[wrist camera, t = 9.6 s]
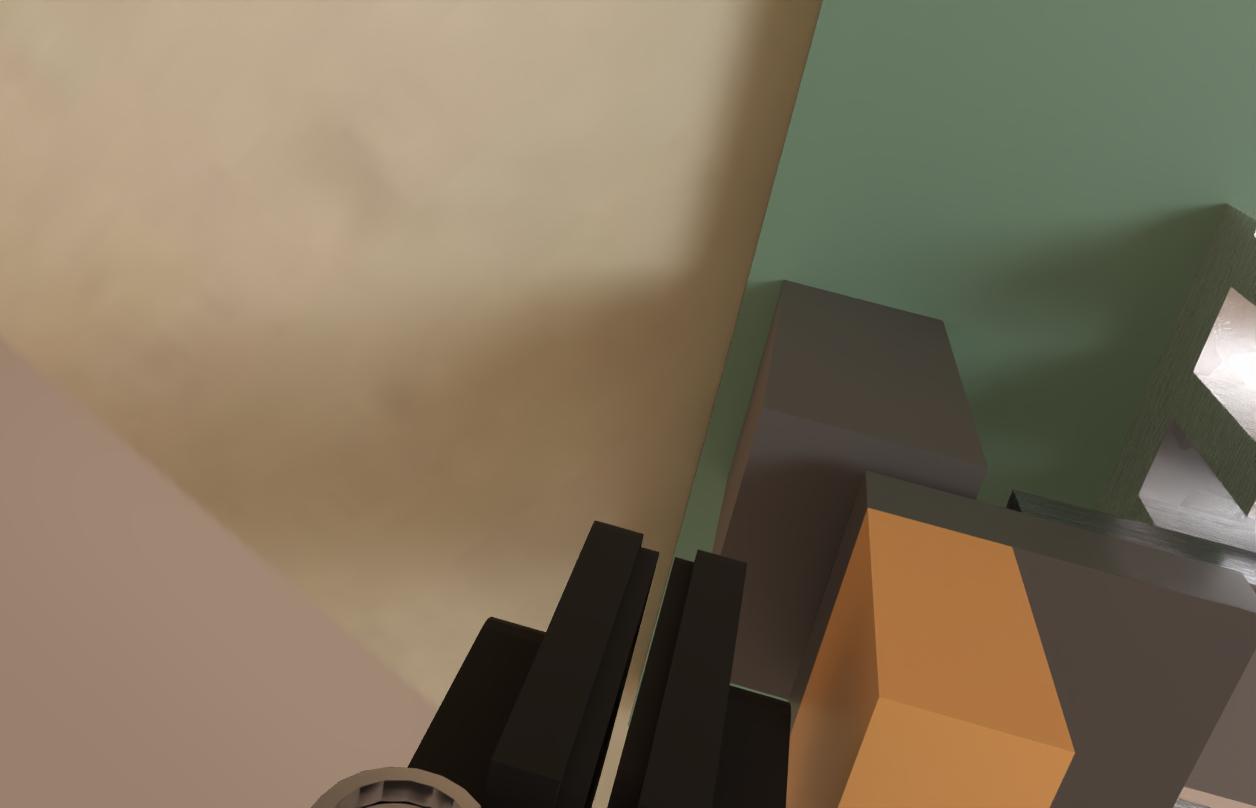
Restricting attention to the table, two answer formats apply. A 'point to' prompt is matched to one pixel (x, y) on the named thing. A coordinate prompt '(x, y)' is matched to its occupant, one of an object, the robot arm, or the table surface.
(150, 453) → the table surface
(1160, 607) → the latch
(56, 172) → the table surface
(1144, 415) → the heat sink
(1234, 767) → the strap
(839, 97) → the board
